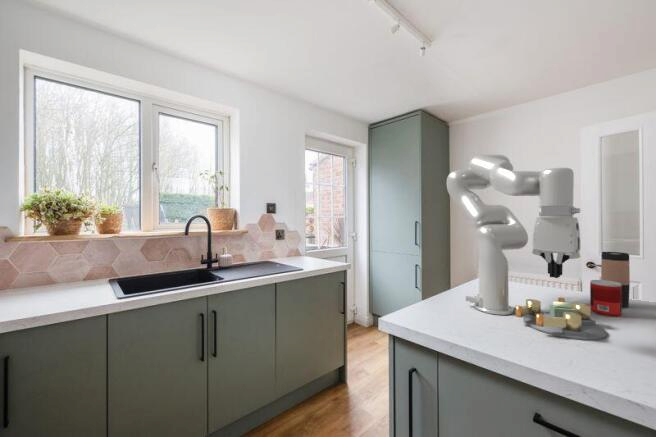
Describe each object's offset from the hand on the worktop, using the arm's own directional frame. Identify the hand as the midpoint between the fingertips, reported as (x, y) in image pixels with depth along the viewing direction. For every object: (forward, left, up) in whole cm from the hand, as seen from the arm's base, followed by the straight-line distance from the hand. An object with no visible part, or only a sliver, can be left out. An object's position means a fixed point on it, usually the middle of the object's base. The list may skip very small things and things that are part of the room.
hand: (554, 276), depth 81 cm
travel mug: (+32, +42, -18) cm, 56 cm away
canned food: (+24, +30, -18) cm, 42 cm away
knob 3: (+11, +18, -15) cm, 26 cm away
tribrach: (+5, +11, -18) cm, 21 cm away
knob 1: (-4, +12, -15) cm, 20 cm away
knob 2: (+2, +3, -15) cm, 16 cm away
